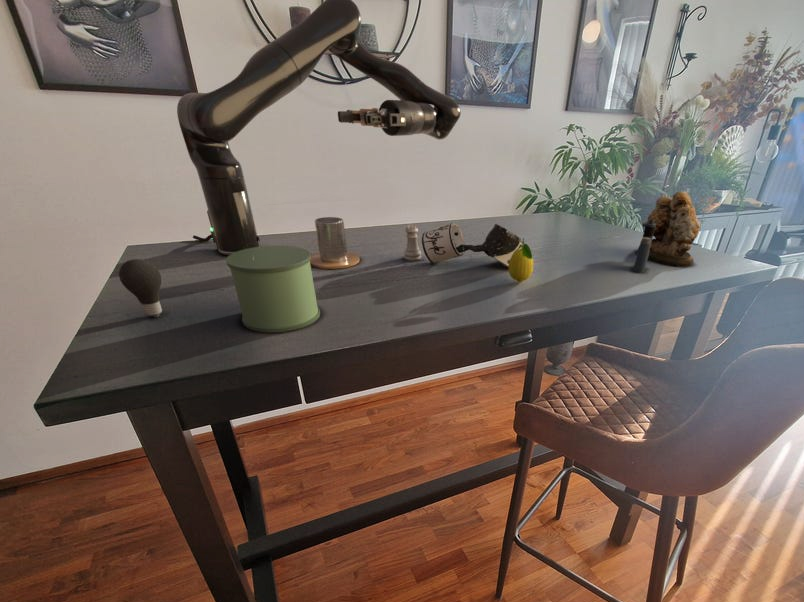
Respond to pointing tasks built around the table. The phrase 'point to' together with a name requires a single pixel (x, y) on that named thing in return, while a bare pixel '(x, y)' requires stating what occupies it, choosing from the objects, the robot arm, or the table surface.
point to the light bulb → (143, 283)
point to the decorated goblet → (451, 245)
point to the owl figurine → (673, 230)
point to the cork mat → (318, 263)
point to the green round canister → (274, 288)
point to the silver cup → (331, 239)
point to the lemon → (521, 263)
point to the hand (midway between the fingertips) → (352, 118)
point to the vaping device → (644, 247)
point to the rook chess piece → (412, 244)
